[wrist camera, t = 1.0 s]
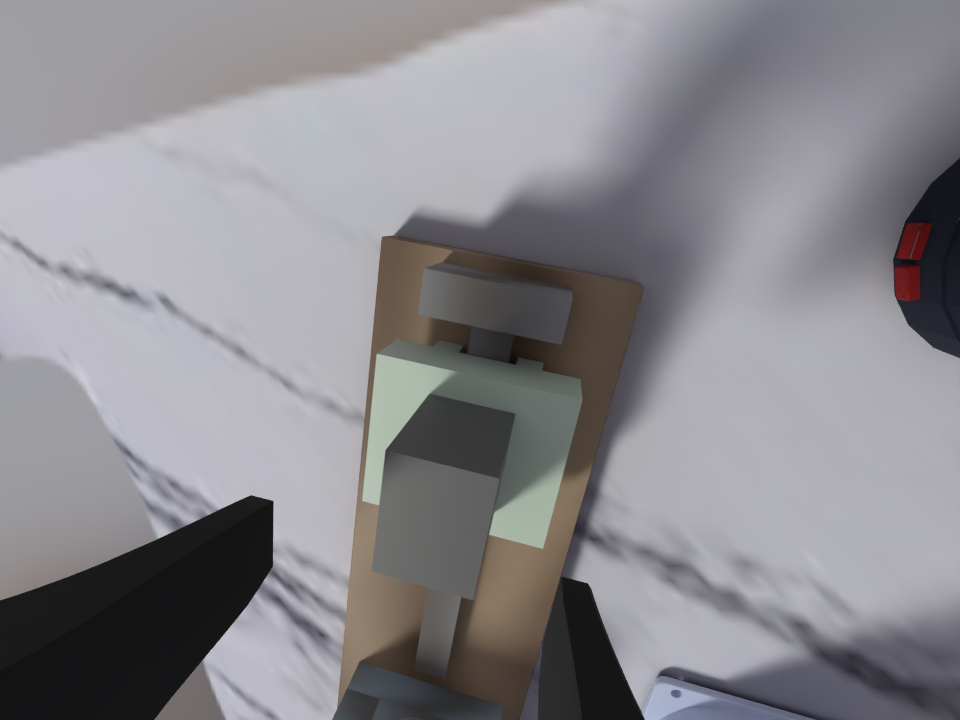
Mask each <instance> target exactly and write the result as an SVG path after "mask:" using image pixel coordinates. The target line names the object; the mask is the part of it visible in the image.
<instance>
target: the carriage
mask: <svg viewBox="0 0 960 720" xmlns="http://www.w3.org/2000/svg"><path fill="white" fill-rule="evenodd" d="M463 347H464V345H460V344H455V343H451V342H446V341H442V340H439V341H438V342H437V343H436V344H435V345H434V346H433V347H432V346H427V345H422V344H418V343H413V342H409V341H404V340H400V339H397V340H395V341H394V342H392V343H391V344H390V345H388V346H387V347H385V348H384V349H383V350H381V351H380V352H378V353H377V356H376V366H375V376H374V386H373V396H372V406H371V416H370V426H369V437H368V447H367V457H366V467H365V477H364V487H363V497H362V501H364V502H368V503H372V504H375V505H379V511H378V520H377V529H376V538H375V546H374V555H373V564H372V572H375V573H379V574H382V575H386V576H389V577H393V578H396V579H400V580H403V581H407V582H410V583H414V584H417V585H421V586H424V587H428V588H431V589H435V590H438V591H442V592H445V593H449V594H452V595H456V596H459V597H463V598H466V599H470V600H473V599H474V595H475V591H476V587H477V583H478V579H479V574H480V570H481V566H482V562H483V558H484V554H485V549H486V545H487V541H488V537H489V535H492V536H496V537H500V538H504V539H507V540H511V541H515V542H519V543H522V544H526V545H530V546H534V547H537V548H541V549H543V547H544V543H545V540H546V536H547V532H548V528H549V525H550V521H551V517H552V513H553V510H554V506H555V502H556V498H557V495H558V491H559V487H560V483H561V480H562V476H563V472H564V468H565V464H566V461H567V457H568V453H569V449H570V446H571V442H572V438H573V434H574V431H575V427H576V423H577V419H578V416H579V412H580V408H581V404H582V400H583V399H582V389H581V379H578V378H573V377H568V376H564V375H559V374H555V373H550V372H546V371H543V364H544V363H543V362H538V361H534V360H529V359H525V358H520V357H518V360H517V363H516V365H514V364H509V363H505V362H500V361H495V360H491V359H486V358H482V357H477V356H473V355H468V354H463Z"/></svg>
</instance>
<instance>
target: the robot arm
mask: <svg viewBox="0 0 960 720" xmlns="http://www.w3.org/2000/svg"><path fill="white" fill-rule="evenodd" d="M272 567H273V501H271V500H267V499H263V498H259V497H255V496H252V495H251V496H249V497H246V498H244V499H242V500H239V501H237V502H235V503H233V504H231V505H229V506H227V507H224V508H222V509H220V510H218V511H216V512H214V513H212V514H210V515H208V516H206V517H204V518H202V519H199V520H197V521H195V522H193V523H191V524H189V525H187V526H185V527H183V528H181V529H178V530H176V531H174V532H172V533H170V534H168V535H166V536H164V537H161V538H159V539H157V540H155V541H153V542H150V543H148V544H146V545H144V546H141V547H139V548H137V549H134V550H132V551H130V552H128V553H125V554H123V555H120V556H118V557H116V558H114V559H111V560H109V561H107V562H104V563H102V564H100V565H97V566H95V567H92V568H90V569H87V570H85V571H83V572H80V573H77V574H75V575H72V576H70V577H67V578H64V579H61V580H59V581H56V582H53V583H50V584H47V585H45V586H42V587H40V588H37V589H34V590H31V591H28V592H25V593H22V594H19V595H16V596H13V597H10V598H7V599H3V600H0V720H154V719H155V718H156V717H157V715H158V714H159V713H160V711H161V710H162V709H163V708H164V706H165V705H166V704H167V702H168V701H169V700H170V699H171V697H172V696H173V695H174V694H175V693H176V691H177V690H178V689H179V688H180V687H181V685H182V684H183V683H184V682H185V680H186V679H187V678H188V677H189V676H190V674H191V673H192V672H193V671H194V670H195V668H196V667H197V666H198V665H199V664H200V662H201V661H202V660H203V659H204V658H205V656H206V655H207V654H208V653H209V652H210V650H211V649H212V648H213V647H214V646H215V644H216V643H217V642H218V641H219V640H220V638H221V637H222V636H223V635H224V634H225V632H226V631H227V630H228V629H229V627H230V626H231V625H232V624H233V623H234V621H235V620H236V619H237V618H238V616H239V615H240V614H241V613H242V611H243V610H244V609H245V608H246V606H247V605H248V604H249V602H250V601H251V599H252V598H253V596H254V595H255V593H256V592H257V590H258V589H259V587H260V586H261V584H262V582H263V581H264V579H265V578H266V576H267V575H268V573H269V571H270V570H271V568H272ZM538 720H815V719H812V718H808V717H805V716H801V715H798V714H795V713H791V712H788V711H784V710H781V709H777V708H774V707H770V706H767V705H763V704H760V703H757V702H753V701H750V700H746V699H743V698H739V697H736V696H732V695H729V694H725V693H722V692H719V691H715V690H712V689H708V688H705V687H701V686H698V685H694V684H691V683H687V682H684V681H681V680H677V679H674V678H670V677H666V676H660V677H658V678H656V679H655V681H654V683H653V685H652V688H651V690H650V693H649V695H648V697H647V700H646V702H645V705H644V707H643V710H642V712H641V710H640V708H639V706H638V704H637V702H636V700H635V698H634V695H633V693H632V691H631V689H630V687H629V685H628V682H627V680H626V678H625V675H624V673H623V671H622V669H621V666H620V664H619V662H618V659H617V657H616V655H615V652H614V650H613V648H612V645H611V643H610V640H609V638H608V635H607V632H606V630H605V627H604V625H603V622H602V619H601V616H600V614H599V611H598V608H597V605H596V602H595V599H594V596H593V593H592V590H591V588H590V586H589V585H588V583H584V582H580V581H576V580H572V579H569V578H565V577H561V578H560V582H559V586H558V589H557V593H556V597H555V600H554V604H553V608H552V611H551V615H550V619H549V622H548V626H547V630H546V633H545V637H544V641H543V648H542V659H541V669H540V680H539V698H538Z"/></svg>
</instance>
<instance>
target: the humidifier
mask: <svg viewBox="0 0 960 720" xmlns="http://www.w3.org/2000/svg"><path fill="white" fill-rule="evenodd" d="M893 262H894V291H895V297H896V299H897V301H898V303H899V305H900V307H901V310H902V312H903V314H904V316H905V318H906V320H907V323H908V325H909V326H910V327H911V328H913V329H914V330H915V331H916V332H917V333H918V334H919V335H920V336H921V337H922V338H924V339H925V340H926V341H927V342H928V343H929V344H930V345H931V346H932V347H934V348H936V349H938V350H941V351H943V352H946V353H948V354H951V355H953V356H956V357H958V358H960V159H959V160H958V161H956V162H955V163H954V164H953V165H952V166H951V167H950V168H948V169H947V170H946V171H945V172H944V173H943V174H942V175H941V176H939V177H938V178H937V179H936V180H935V181H934V182H933V183H932V184H931V185H930V187H929V188H928V189H927V191H926V192H925V194H924V195H923V197H922V198H921V200H920V201H919V203H918V204H917V205H916V207H915V208H914V210H913V211H912V213H911V214H910V216H909V217H908V219H907V220H906V222H905V225H904V228H903V231H902V234H901V237H900V241H899V244H898V247H897V250H896V253H895V256H894V259H893Z"/></svg>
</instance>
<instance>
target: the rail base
mask: <svg viewBox="0 0 960 720" xmlns="http://www.w3.org/2000/svg"><path fill="white" fill-rule="evenodd" d="M643 289H644V287H643V286H642V285H641V284H640V283H638V282H632V281H627V280H622V279H617V278H611V277H606V276H601V275H596V274H591V273H585V272H580V271H575V270H570V269H564V268H559V267H554V266H549V265H543V264H538V263H533V262H528V261H523V260H517V259H512V258H507V257H502V256H496V255H491V254H486V253H481V252H476V251H470V250H465V249H460V248H455V247H449V246H444V245H439V244H434V243H429V242H423V241H418V240H413V239H408V238H402V237H397V236H385V237H382V241H381V252H380V263H379V273H378V284H377V294H376V305H375V316H374V326H373V337H372V347H371V358H370V369H369V379H368V390H367V400H366V411H365V421H364V432H363V443H362V453H361V464H360V474H359V485H358V496H357V506H356V517H355V527H354V538H353V548H352V559H351V570H350V580H349V591H348V601H347V612H346V623H345V633H344V644H343V654H342V665H341V676H340V686H339V697H338V707H337V711H336V713H335V715H334V717H333V720H519V719H520V715H521V712H522V708H523V705H524V701H525V698H526V694H527V691H528V687H529V684H530V680H531V677H532V673H533V670H534V666H535V663H536V660H537V656H538V653H539V649H540V646H541V642H542V639H543V635H544V632H545V628H546V625H547V621H548V618H549V614H550V611H551V608H552V604H553V601H554V597H555V594H556V590H557V587H558V583H559V580H560V576H561V573H562V569H563V566H564V562H565V559H566V556H567V552H568V549H569V545H570V542H571V538H572V535H573V531H574V528H575V524H576V521H577V517H578V514H579V510H580V507H581V504H582V500H583V497H584V493H585V490H586V486H587V483H588V479H589V476H590V472H591V469H592V465H593V462H594V458H595V455H596V452H597V448H598V445H599V441H600V438H601V434H602V431H603V427H604V424H605V420H606V417H607V413H608V410H609V406H610V403H611V400H612V396H613V393H614V389H615V386H616V382H617V379H618V375H619V372H620V368H621V365H622V361H623V358H624V354H625V351H626V348H627V344H628V341H629V337H630V334H631V330H632V327H633V323H634V320H635V316H636V313H637V309H638V306H639V302H640V299H641V296H642V292H643ZM397 339H400V340H404V341H409V342H413V343H418V344H422V345H427V346H432V347H433V346H434V345H435V344H436V343H437V342H438V341H439V340H442V341H446V342H451V343H455V344H460V345H464V347H463V354H468V355H473V356H477V357H482V358H486V359H491V360H495V361H500V362H505V363H509V364H514V365H516V363H517V360H518V357H520V358H525V359H529V360H534V361H538V362H543V363H544V364H543V371H546V372H550V373H555V374H559V375H564V376H568V377H573V378H578V379H581V389H582V399H583V400H582V404H581V408H580V412H579V416H578V419H577V423H576V427H575V431H574V434H573V438H572V442H571V446H570V449H569V453H568V457H567V461H566V464H565V468H564V472H563V476H562V480H561V483H560V487H559V491H558V495H557V498H556V502H555V506H554V510H553V513H552V517H551V521H550V525H549V528H548V532H547V536H546V540H545V543H544V547H543V549H541V548H537V547H534V546H530V545H526V544H522V543H519V542H515V541H511V540H507V539H504V538H500V537H496V536H492V535H489V537H488V541H487V545H486V549H485V554H484V558H483V562H482V566H481V570H480V574H479V579H478V583H477V587H476V591H475V595H474V599H473V600H470V599H466V598H463V597H459V596H456V595H452V594H449V593H445V592H442V591H438V590H435V589H431V588H428V587H424V586H421V585H417V584H414V583H410V582H407V581H403V580H400V579H396V578H393V577H389V576H386V575H382V574H379V573H375V572H372V564H373V555H374V546H375V538H376V529H377V520H378V511H379V505H375V504H372V503H368V502H364V501H362V497H363V487H364V477H365V467H366V457H367V447H368V437H369V426H370V416H371V406H372V396H373V386H374V376H375V366H376V356H377V353H378V352H380V351H381V350H383V349H384V348H385V347H387V346H388V345H390V344H391V343H392V342H394V341H395V340H397Z"/></svg>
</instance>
